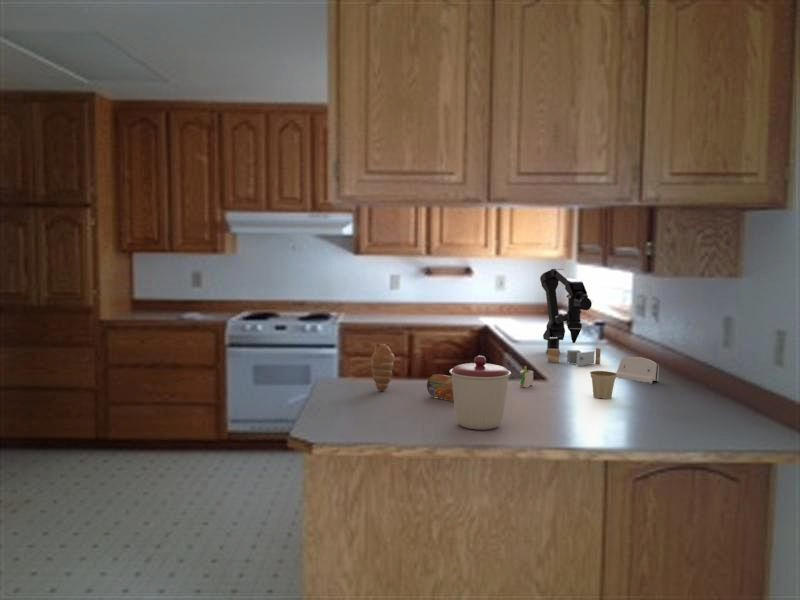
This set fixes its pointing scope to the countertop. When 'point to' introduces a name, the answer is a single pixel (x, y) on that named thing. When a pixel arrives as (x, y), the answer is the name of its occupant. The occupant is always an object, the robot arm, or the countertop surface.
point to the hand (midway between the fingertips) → (573, 341)
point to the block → (572, 356)
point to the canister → (479, 393)
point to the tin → (440, 386)
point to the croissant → (382, 365)
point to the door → (585, 358)
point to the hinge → (638, 369)
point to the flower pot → (603, 383)
